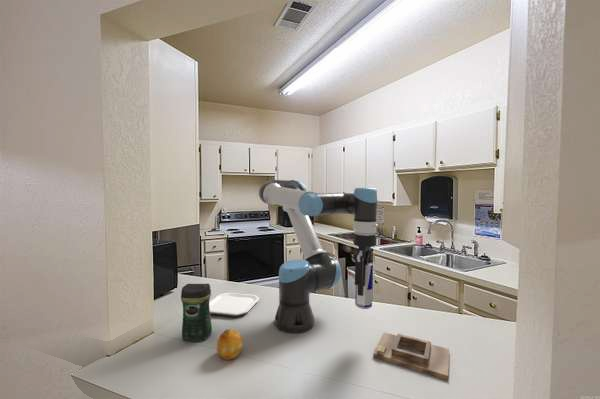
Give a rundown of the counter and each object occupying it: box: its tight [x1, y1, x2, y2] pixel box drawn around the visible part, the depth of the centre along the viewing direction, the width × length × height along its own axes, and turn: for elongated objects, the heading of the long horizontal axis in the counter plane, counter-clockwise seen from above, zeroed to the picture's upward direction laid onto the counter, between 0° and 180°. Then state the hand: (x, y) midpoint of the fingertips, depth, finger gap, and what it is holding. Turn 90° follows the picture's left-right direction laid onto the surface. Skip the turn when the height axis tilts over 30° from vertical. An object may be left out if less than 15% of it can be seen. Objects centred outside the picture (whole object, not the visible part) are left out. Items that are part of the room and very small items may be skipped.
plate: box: [209, 292, 260, 317], centre depth 118 cm, size 21×21×2 cm
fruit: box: [216, 328, 244, 360], centre depth 83 cm, size 8×8×8 cm
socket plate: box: [372, 331, 450, 381], centre depth 82 cm, size 20×14×3 cm
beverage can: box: [354, 263, 374, 310], centre depth 90 cm, size 6×6×15 cm
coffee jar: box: [180, 283, 213, 342], centre depth 93 cm, size 10×8×19 cm
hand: (363, 300), depth 91 cm, fingers closed on beverage can, 5 cm apart
